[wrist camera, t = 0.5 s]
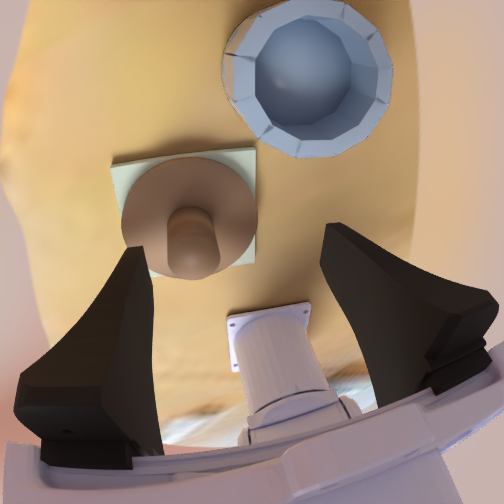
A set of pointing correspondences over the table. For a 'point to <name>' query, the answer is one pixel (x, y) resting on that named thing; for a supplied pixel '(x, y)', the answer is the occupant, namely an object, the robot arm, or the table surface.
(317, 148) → the bowl
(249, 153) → the mat
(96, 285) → the table surface
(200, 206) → the lid
